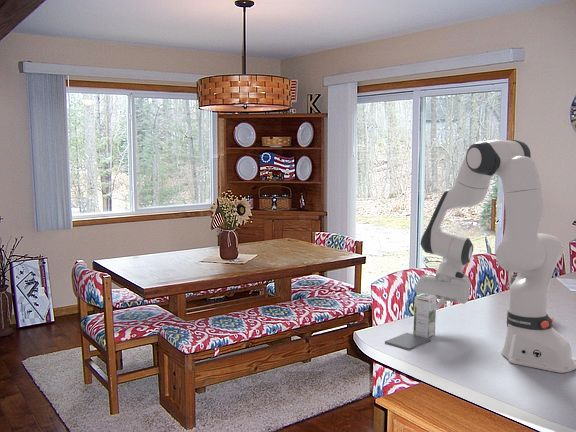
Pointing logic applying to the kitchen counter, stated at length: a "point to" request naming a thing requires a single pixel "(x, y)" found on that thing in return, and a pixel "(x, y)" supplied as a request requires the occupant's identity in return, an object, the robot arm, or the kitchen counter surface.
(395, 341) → the mat
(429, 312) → the syrup box
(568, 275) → the kitchen counter surface
